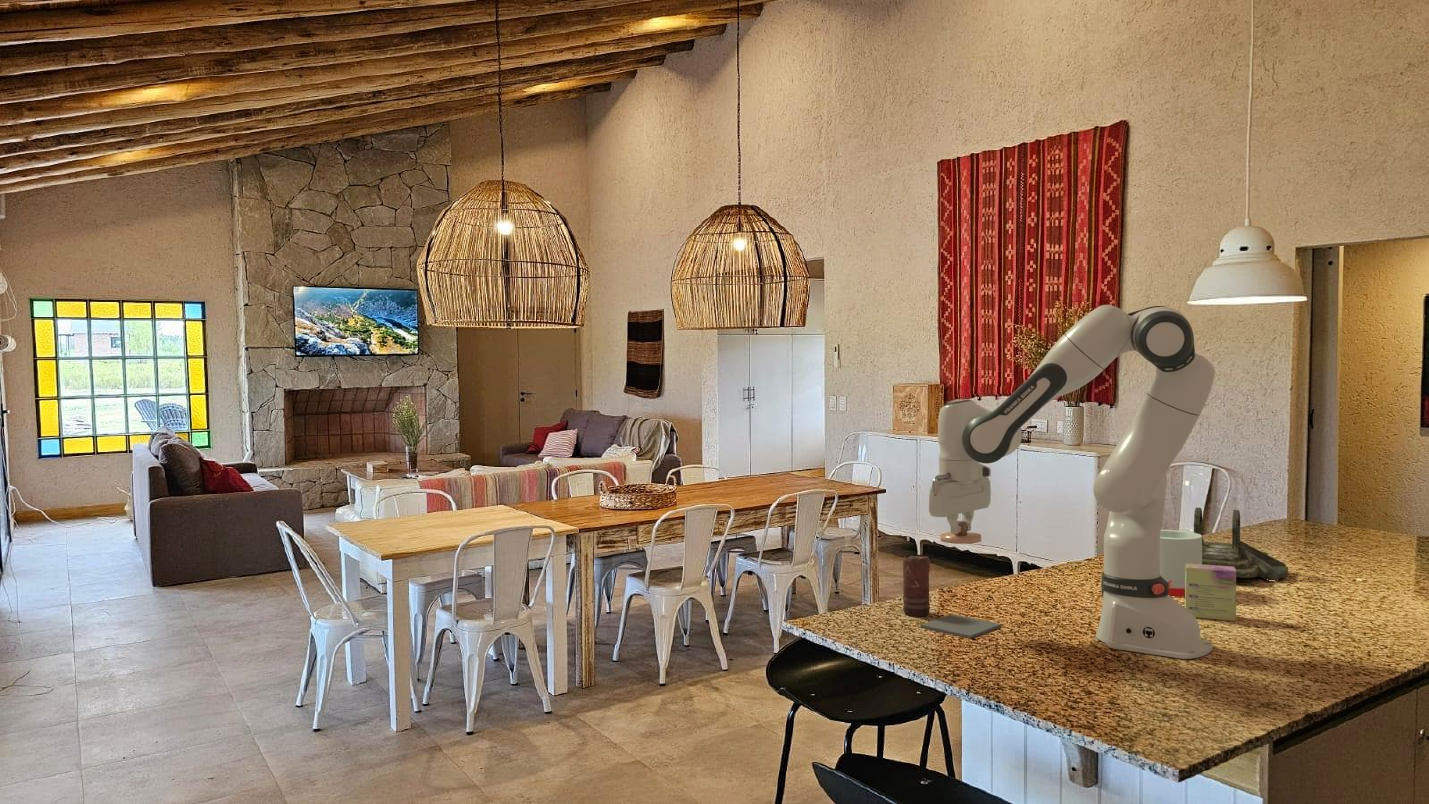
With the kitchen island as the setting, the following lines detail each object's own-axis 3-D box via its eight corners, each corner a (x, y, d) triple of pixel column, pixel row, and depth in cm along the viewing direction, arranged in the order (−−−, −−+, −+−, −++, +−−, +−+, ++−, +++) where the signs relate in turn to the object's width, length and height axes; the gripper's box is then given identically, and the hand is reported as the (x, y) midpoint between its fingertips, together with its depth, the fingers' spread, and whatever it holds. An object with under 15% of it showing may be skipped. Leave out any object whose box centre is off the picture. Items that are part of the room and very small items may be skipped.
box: (1234, 615, 222) (1234, 565, 221) (1236, 621, 216) (1236, 570, 216) (1184, 611, 226) (1184, 562, 225) (1185, 617, 221) (1185, 567, 220)
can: (930, 617, 225) (930, 559, 224) (903, 616, 226) (902, 558, 226) (930, 611, 231) (929, 554, 230) (903, 610, 232) (903, 553, 231)
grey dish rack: (1165, 555, 293) (1164, 497, 293) (1292, 567, 274) (1292, 505, 273) (1140, 576, 265) (1140, 512, 264) (1280, 591, 245) (1280, 522, 245)
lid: (988, 539, 215) (988, 521, 215) (967, 545, 209) (967, 526, 209) (954, 535, 222) (953, 517, 222) (932, 541, 215) (932, 522, 215)
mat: (1001, 626, 216) (1001, 624, 216) (970, 638, 207) (970, 635, 207) (952, 616, 225) (952, 614, 225) (920, 627, 216) (920, 624, 216)
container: (1139, 594, 243) (1138, 538, 243) (1135, 581, 258) (1135, 528, 258) (1208, 599, 238) (1208, 541, 237) (1200, 585, 252) (1200, 530, 252)
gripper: (945, 476, 206) (947, 540, 206) (994, 468, 219) (996, 527, 220) (920, 475, 210) (922, 537, 210) (970, 467, 224) (972, 525, 224)
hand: (961, 532), depth 215 cm, fingers closed on lid, 3 cm apart
